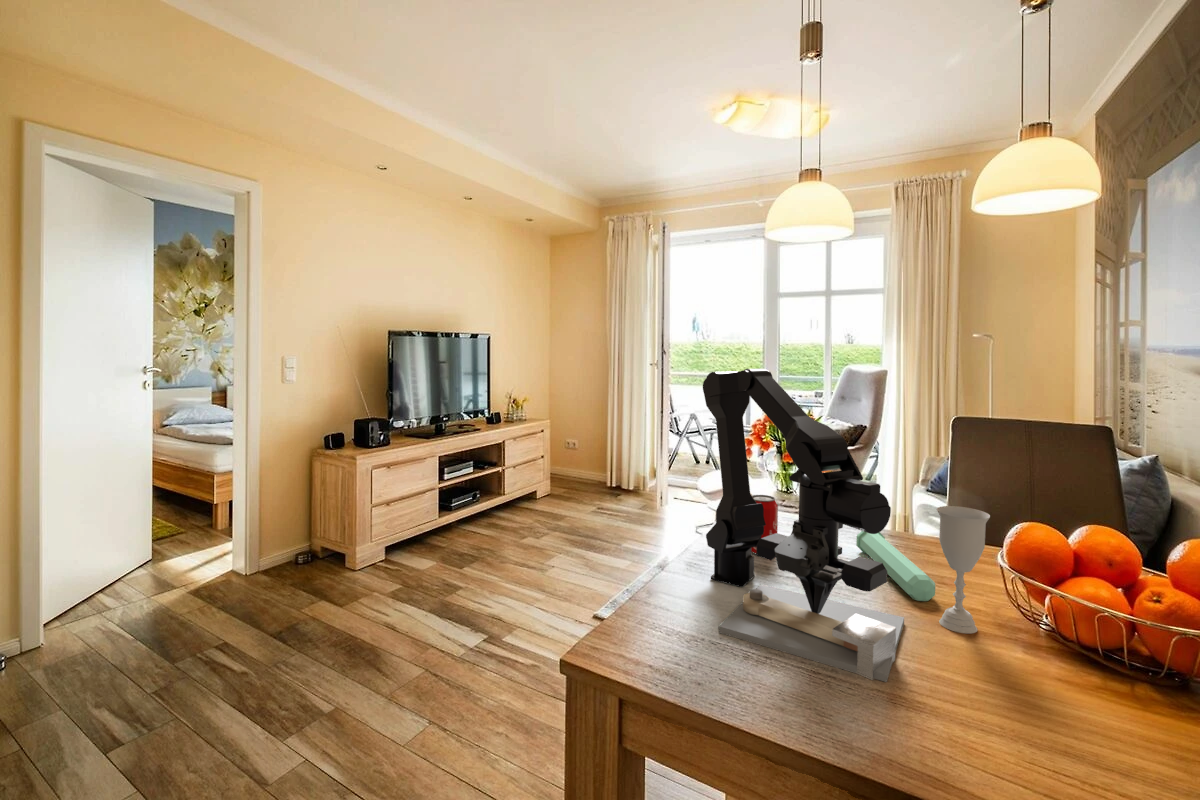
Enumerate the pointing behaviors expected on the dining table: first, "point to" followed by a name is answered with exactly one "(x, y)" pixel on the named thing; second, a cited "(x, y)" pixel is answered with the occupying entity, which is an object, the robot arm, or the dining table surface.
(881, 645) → the block
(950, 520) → the chalice
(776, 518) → the soda can
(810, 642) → the base board
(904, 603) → the dining table surface
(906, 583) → the green octagonal rod
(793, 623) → the latch arm
